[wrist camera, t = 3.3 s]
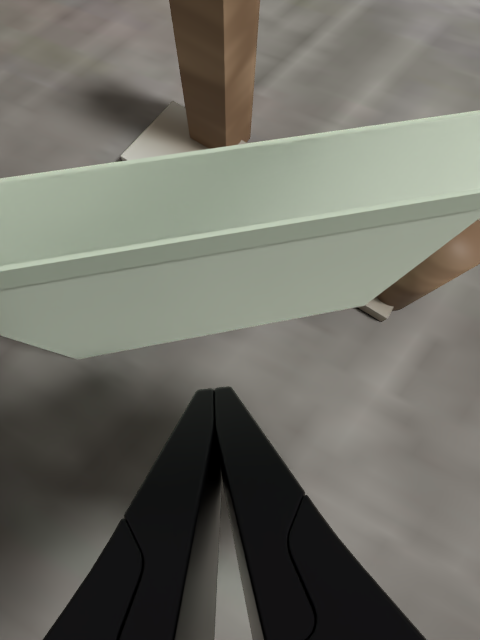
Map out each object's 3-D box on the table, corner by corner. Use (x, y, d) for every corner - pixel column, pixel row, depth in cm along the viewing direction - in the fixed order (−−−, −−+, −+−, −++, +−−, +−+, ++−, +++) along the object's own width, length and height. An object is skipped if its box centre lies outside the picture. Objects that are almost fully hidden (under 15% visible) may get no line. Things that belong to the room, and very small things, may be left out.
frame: (394, 329, 16) (598, 232, 7) (124, 164, 18) (21, -71, 9) (440, 245, 17) (662, 74, 8) (183, 100, 19) (143, -159, 10)
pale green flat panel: (352, 268, 15) (493, 108, 7) (364, 307, 15) (531, 184, 7) (74, 317, 14) (-136, 197, 6) (77, 361, 14) (-147, 295, 6)
